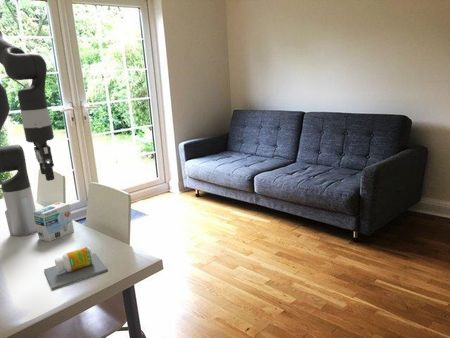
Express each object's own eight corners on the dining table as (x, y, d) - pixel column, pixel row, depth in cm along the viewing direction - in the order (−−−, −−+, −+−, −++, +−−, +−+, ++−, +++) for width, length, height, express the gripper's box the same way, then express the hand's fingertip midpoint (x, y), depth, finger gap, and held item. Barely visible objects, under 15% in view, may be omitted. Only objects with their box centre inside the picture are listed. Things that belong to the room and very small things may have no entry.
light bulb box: (49, 242, 131) (43, 213, 128) (38, 239, 134) (31, 211, 131) (75, 230, 139) (69, 203, 137) (64, 227, 143) (58, 201, 140)
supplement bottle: (94, 260, 108) (59, 272, 103) (93, 266, 112) (58, 277, 107) (89, 243, 110) (54, 254, 104) (87, 249, 114) (53, 260, 109)
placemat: (52, 290, 100) (51, 288, 99) (44, 271, 110) (43, 269, 110) (107, 270, 108) (107, 268, 107) (95, 254, 118) (95, 253, 118)
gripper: (20, 123, 113) (31, 174, 118) (26, 129, 102) (38, 185, 106) (46, 120, 117) (56, 169, 122) (55, 125, 106) (65, 179, 110)
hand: (47, 176), depth 114 cm, fingers open, 8 cm apart
